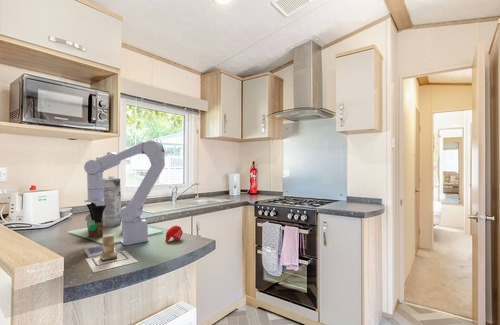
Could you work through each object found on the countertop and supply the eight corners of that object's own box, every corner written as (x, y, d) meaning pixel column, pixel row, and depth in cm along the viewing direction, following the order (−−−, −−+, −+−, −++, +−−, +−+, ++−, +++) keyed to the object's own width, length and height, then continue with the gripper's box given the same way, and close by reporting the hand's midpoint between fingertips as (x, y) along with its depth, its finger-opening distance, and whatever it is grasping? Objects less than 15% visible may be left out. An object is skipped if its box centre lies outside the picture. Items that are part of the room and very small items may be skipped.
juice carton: (112, 227, 144) (111, 176, 144) (95, 227, 146) (94, 177, 147) (123, 223, 153) (122, 175, 153) (107, 223, 155) (106, 176, 155)
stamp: (114, 255, 97) (113, 233, 97) (117, 258, 94) (116, 235, 94) (100, 258, 95) (99, 235, 95) (102, 262, 91) (101, 238, 91)
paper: (125, 251, 103) (125, 250, 103) (137, 262, 91) (137, 261, 91) (85, 259, 95) (85, 258, 95) (93, 272, 83) (93, 271, 83)
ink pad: (111, 247, 109) (111, 243, 109) (116, 252, 102) (116, 248, 102) (84, 252, 103) (84, 248, 103) (88, 258, 96) (88, 254, 96)
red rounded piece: (178, 229, 122) (166, 224, 119) (185, 226, 118) (173, 221, 115) (172, 247, 117) (160, 242, 114) (180, 244, 113) (168, 239, 110)
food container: (83, 235, 130) (82, 214, 130) (97, 232, 134) (97, 212, 134) (88, 240, 120) (87, 217, 121) (103, 237, 124) (103, 215, 125)
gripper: (81, 188, 117) (82, 220, 117) (87, 190, 106) (87, 225, 106) (100, 187, 122) (101, 217, 122) (107, 189, 110) (108, 222, 110)
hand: (96, 221), depth 114 cm, fingers open, 7 cm apart
